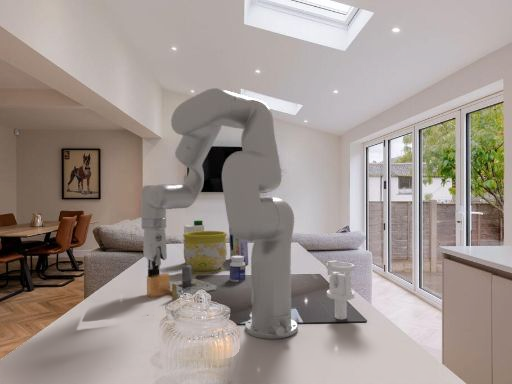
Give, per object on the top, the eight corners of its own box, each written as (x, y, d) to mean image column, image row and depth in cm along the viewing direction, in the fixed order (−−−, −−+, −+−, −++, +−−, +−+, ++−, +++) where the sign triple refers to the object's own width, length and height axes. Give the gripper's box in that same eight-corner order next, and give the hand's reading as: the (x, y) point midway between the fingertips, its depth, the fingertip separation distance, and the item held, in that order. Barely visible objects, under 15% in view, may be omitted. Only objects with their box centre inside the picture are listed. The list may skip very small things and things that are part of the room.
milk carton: (206, 264, 167) (205, 221, 168) (187, 266, 164) (186, 222, 164) (200, 261, 175) (200, 220, 175) (182, 262, 172) (182, 220, 172)
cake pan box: (228, 258, 182) (228, 223, 182) (238, 257, 184) (238, 223, 184) (238, 265, 164) (237, 226, 164) (248, 264, 165) (248, 226, 165)
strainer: (321, 314, 96) (321, 258, 96) (344, 311, 99) (343, 257, 99) (336, 323, 90) (336, 263, 90) (360, 319, 92) (359, 261, 92)
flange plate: (194, 281, 128) (194, 264, 128) (216, 289, 117) (216, 271, 117) (139, 292, 115) (139, 273, 115) (159, 301, 104) (159, 281, 104)
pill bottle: (243, 286, 127) (243, 258, 127) (227, 285, 128) (227, 257, 128) (247, 282, 133) (246, 255, 133) (232, 281, 134) (231, 254, 134)
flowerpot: (232, 274, 145) (232, 234, 145) (188, 279, 138) (187, 236, 138) (220, 266, 162) (220, 230, 162) (180, 270, 155) (179, 232, 155)
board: (234, 300, 110) (234, 271, 110) (145, 309, 102) (145, 278, 102) (218, 281, 134) (217, 257, 134) (145, 287, 127) (145, 261, 127)
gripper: (173, 225, 110) (173, 285, 110) (158, 221, 123) (158, 275, 123) (148, 226, 106) (148, 288, 106) (135, 222, 119) (135, 277, 119)
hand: (153, 281), depth 115 cm, fingers closed
